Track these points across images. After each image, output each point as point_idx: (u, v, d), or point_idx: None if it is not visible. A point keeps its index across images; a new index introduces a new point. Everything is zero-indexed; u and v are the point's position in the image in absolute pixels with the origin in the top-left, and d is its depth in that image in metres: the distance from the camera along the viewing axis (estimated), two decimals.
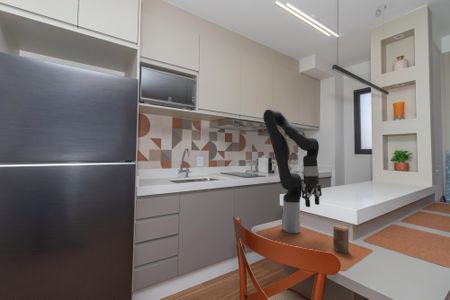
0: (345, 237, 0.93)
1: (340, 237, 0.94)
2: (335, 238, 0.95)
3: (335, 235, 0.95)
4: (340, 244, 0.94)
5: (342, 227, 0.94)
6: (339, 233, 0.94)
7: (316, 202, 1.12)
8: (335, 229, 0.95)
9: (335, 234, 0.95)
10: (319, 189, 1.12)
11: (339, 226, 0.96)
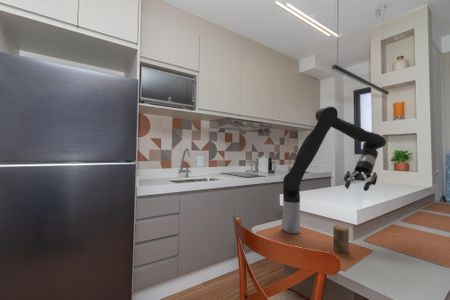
0: (345, 237, 0.93)
1: (340, 237, 0.94)
2: (335, 238, 0.95)
3: (335, 235, 0.95)
4: (340, 244, 0.94)
5: (342, 227, 0.94)
6: (339, 233, 0.94)
7: (347, 185, 1.07)
8: (335, 229, 0.95)
9: (335, 234, 0.95)
10: (349, 176, 1.12)
11: (339, 226, 0.96)
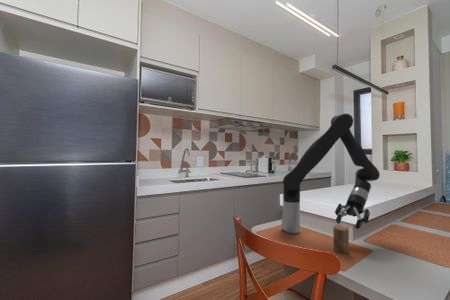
0: (345, 237, 0.93)
1: (340, 237, 0.94)
2: (335, 238, 0.95)
3: (335, 235, 0.95)
4: (340, 244, 0.94)
5: (342, 227, 0.94)
6: (339, 233, 0.94)
7: (339, 220, 1.02)
8: (335, 229, 0.95)
9: (335, 234, 0.95)
10: None
11: (339, 226, 0.96)
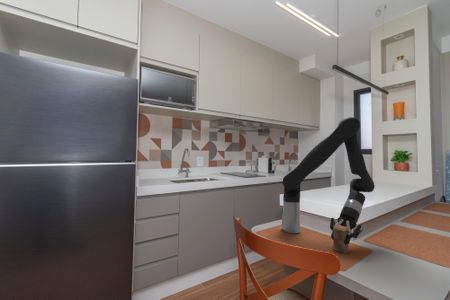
0: None
1: (340, 237, 0.94)
2: (335, 238, 0.95)
3: (335, 235, 0.95)
4: (340, 244, 0.94)
5: (342, 227, 0.94)
6: (339, 233, 0.94)
7: None
8: (335, 229, 0.95)
9: (335, 234, 0.95)
10: None
11: (339, 226, 0.96)
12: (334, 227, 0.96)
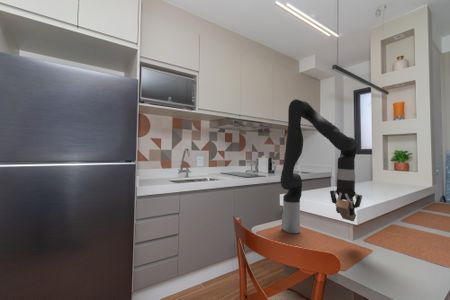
0: (349, 211, 0.96)
1: (345, 212, 0.97)
2: (340, 212, 0.99)
3: (340, 210, 0.99)
4: (347, 216, 0.98)
5: (343, 204, 0.96)
6: (343, 209, 0.97)
7: None
8: (338, 207, 0.98)
9: (340, 210, 0.98)
10: (335, 194, 1.03)
11: (340, 203, 0.97)
12: (336, 206, 0.98)
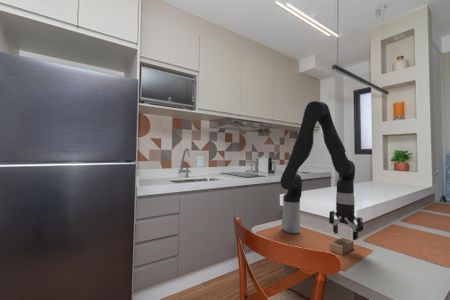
0: (345, 250, 0.93)
1: None
2: None
3: None
4: None
5: (337, 250, 0.93)
6: None
7: (336, 231, 1.01)
8: None
9: None
10: (334, 215, 1.03)
11: (334, 248, 0.94)
12: None
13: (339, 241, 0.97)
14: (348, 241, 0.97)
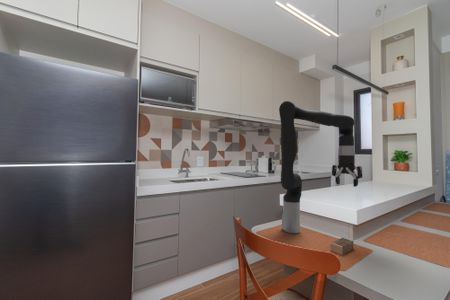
0: (345, 250, 0.93)
1: None
2: None
3: None
4: None
5: (337, 250, 0.93)
6: None
7: (338, 182, 1.12)
8: None
9: None
10: (336, 169, 1.14)
11: (334, 248, 0.94)
12: None
13: (339, 241, 0.97)
14: (348, 241, 0.97)
